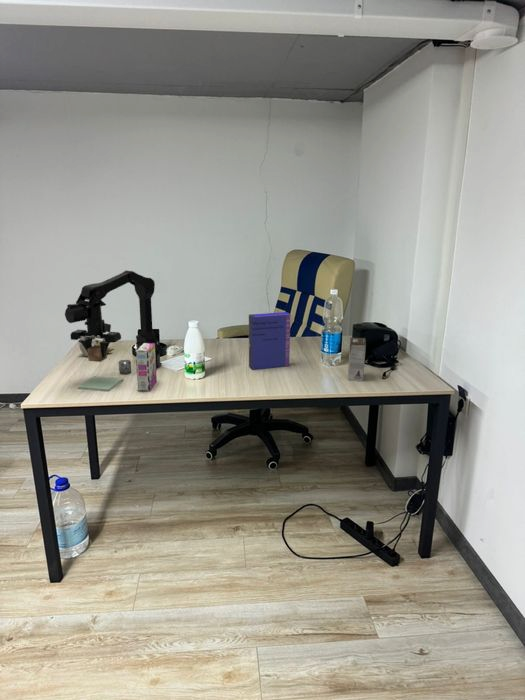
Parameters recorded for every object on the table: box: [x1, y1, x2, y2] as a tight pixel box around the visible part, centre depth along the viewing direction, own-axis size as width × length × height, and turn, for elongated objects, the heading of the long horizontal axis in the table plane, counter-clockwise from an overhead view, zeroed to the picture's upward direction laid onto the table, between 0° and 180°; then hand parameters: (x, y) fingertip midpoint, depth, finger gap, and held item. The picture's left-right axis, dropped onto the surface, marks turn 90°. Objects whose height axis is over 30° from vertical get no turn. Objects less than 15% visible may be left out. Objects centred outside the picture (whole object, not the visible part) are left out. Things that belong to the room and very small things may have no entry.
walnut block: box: [88, 345, 108, 363], centre depth 185 cm, size 5×5×5 cm
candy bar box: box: [135, 343, 158, 392], centre depth 184 cm, size 11×5×16 cm, turn 178°
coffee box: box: [347, 337, 367, 382], centre depth 195 cm, size 9×6×16 cm
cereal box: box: [248, 311, 291, 371], centre depth 207 cm, size 17×5×24 cm, turn 108°
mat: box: [77, 376, 124, 392], centre depth 188 cm, size 13×12×1 cm
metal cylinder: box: [118, 359, 133, 376], centre depth 201 cm, size 5×5×5 cm
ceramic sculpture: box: [78, 338, 115, 357], centre depth 225 cm, size 11×9×15 cm
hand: (97, 356), depth 186 cm, fingers closed on walnut block, 5 cm apart
